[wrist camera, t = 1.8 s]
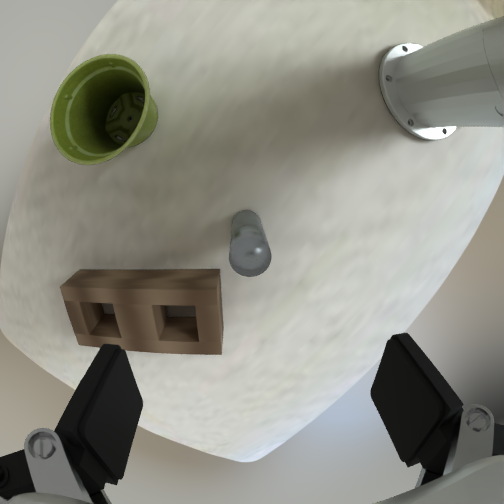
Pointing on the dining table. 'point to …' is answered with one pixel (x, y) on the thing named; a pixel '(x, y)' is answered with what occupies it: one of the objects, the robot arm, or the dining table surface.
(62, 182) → the dining table surface
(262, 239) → the pin
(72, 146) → the plant pot
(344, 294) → the dining table surface
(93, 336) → the socket block
